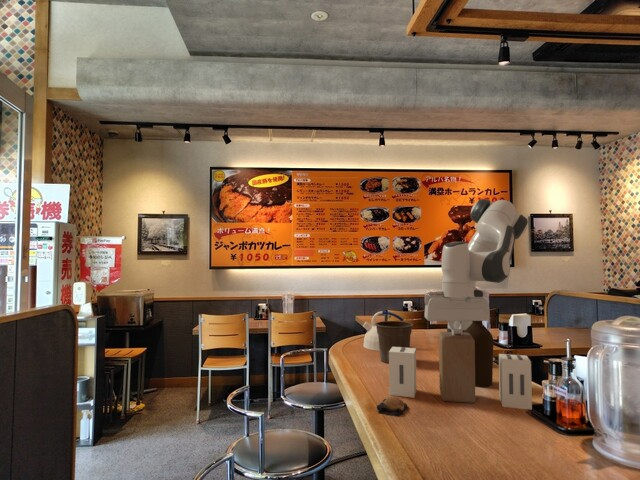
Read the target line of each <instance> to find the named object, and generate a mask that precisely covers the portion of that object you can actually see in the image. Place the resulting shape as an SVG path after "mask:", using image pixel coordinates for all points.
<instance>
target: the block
mask: <svg viewBox="0 0 640 480" xmlns="http://www.w3.org/2000/svg"><path fill="white" fill-rule="evenodd" d="M438 353H439V354H438V356H439V357H438V359H439V362H438V365H439V366H438V369H439V372H438V373H439V375H438V377H439V392H440V396H441V399H442V401H444V402H451V403H453V402H454V403H464V404H465V403H466V404H473V403H474V404H475V402H476V386H475V341H474V339H473V337H472V336H471V335H470V334H469V333H463V335H452V332H447V331H441V332H439V335H438Z"/></svg>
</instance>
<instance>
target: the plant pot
mask: <svg viewBox="0 0 640 480" xmlns="http://www.w3.org/2000/svg"><path fill="white" fill-rule="evenodd" d="M375 325H376V327H377V333H378V338H379V348H380V351H379V355H380V358H379V359H380V361H381V362H383V363H385V364H389V351H390V349H391V348H392V347H404V348H411V344H410V343H411V336H412V332H413V331H412V330H413V326H414V324H413V323H412V322H408V321H404V320H403V321H400V320H383V321H377V322H375Z"/></svg>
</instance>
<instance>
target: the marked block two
mask: <svg viewBox="0 0 640 480" xmlns="http://www.w3.org/2000/svg"><path fill="white" fill-rule="evenodd" d="M498 371H499V372H498V375H499V376H498V382H499V383H498V384H499V385H498V386H499V387H498V388H499V391H498V392H499V400H500V404H501V406H502V407H503V408H510V409H511V408H512V409H520V410H521V409H522V410H532V409H533V401H532V400H533V395H532V394H533V393H532V361H531V359H530V358H529V357H528V356H527V355H522V354H507V353H498ZM532 411H533V410H532Z"/></svg>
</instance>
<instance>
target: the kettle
mask: <svg viewBox="0 0 640 480" xmlns="http://www.w3.org/2000/svg"><path fill="white" fill-rule="evenodd" d="M379 315H389V316H392V317H394V318H396V319H397V320H398V321H403V322H404V318H402V317H401V316H399V315H397V314H396V313H394V312H391V311H385V310H382V311H377V312H376V313H375V314H373V316H372V318H371V324H370V323H369V322H368V321H365V322H364V323H363V325H362V327H363V328H364V329H365V330H366V333H365V335H364V337H363V338H364V339H363V348H365V349H367V350H369V351H378V352H380V348H379V338H378V333H377V327H376V325H375V323H376V318H377V317H378V316H379Z"/></svg>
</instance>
